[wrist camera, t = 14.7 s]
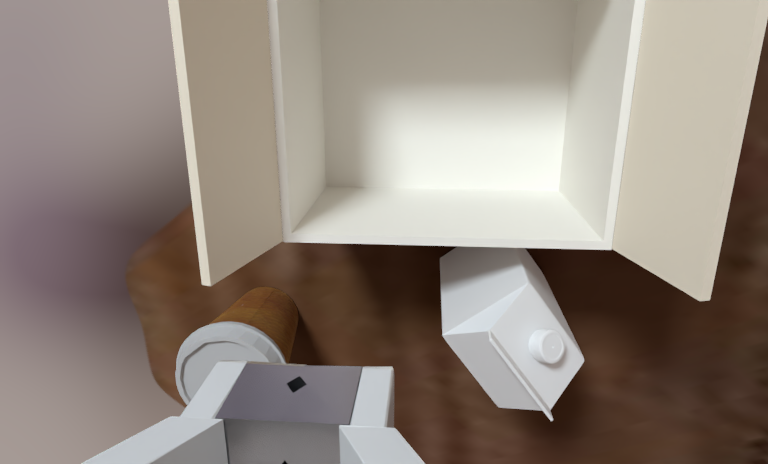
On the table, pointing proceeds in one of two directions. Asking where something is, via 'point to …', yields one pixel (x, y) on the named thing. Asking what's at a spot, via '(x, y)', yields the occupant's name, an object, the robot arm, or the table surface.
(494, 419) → the table surface
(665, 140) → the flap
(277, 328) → the disposable coffee cup
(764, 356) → the table surface
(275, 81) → the carton
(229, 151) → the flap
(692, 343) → the table surface
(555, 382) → the milk carton
